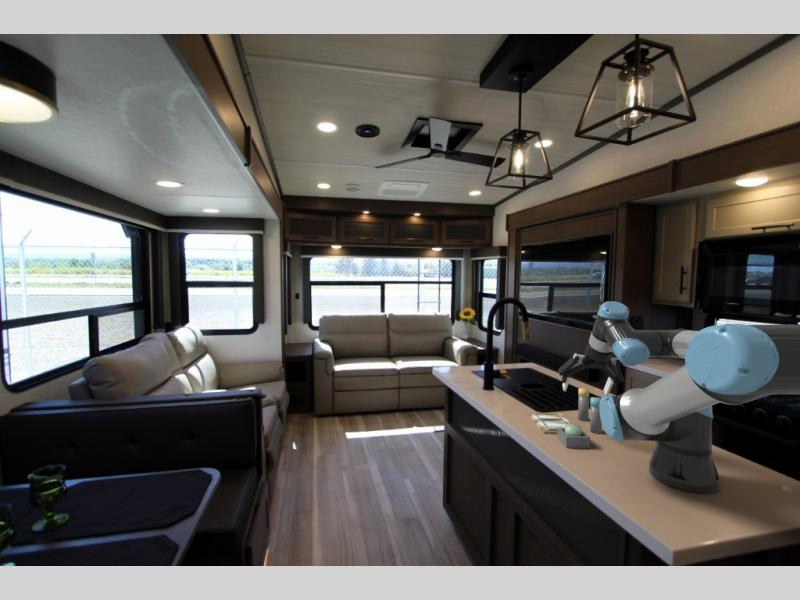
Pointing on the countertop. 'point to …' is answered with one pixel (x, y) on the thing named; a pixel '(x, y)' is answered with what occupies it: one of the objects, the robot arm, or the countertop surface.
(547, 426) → the double window tray
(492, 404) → the countertop surface
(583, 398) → the ochre marker
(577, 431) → the button
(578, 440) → the button housing
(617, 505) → the countertop surface
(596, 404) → the teal marker
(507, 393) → the countertop surface
